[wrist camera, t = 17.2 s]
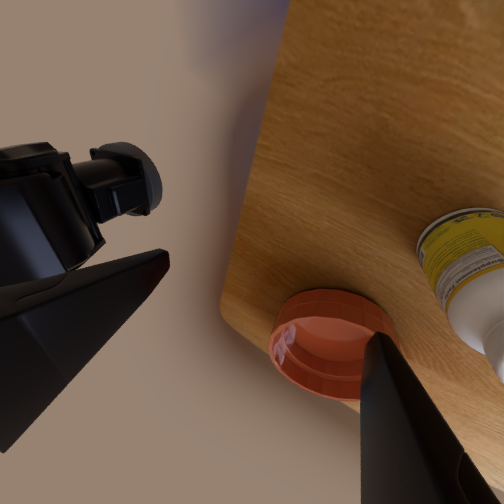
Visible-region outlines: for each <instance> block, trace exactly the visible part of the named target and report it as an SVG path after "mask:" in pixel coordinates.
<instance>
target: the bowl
mask: <svg viewBox="0 0 504 504" xmlns="http://www.w3.org/2000/svg"><path fill="white" fill-rule="evenodd" d="M376 331H380V332H382V333H385V334H388V335H389V336H390V337H391V338H392V340H393V341H394V343H395V345H396V346H397V348H398V349H399V351H400V352H401V349H400V345H399V341H398V337H397V333H396V330H395V327H394V325H393V322H392V320H391V319H390V318H389V317H388V316H387V314H386V313H385V312H384V311H383V310H382V309H381V308H380V307H379V306H377V305H376V304H374V303H372V302H371V301H369V300H367V299H365V298H364V297H362V296H359V295H356V294H352V293H349V292H346V291H342V290H334V289H315V290H309V291H304V292H300V293H298V294H296V295H295V296H293V297H291V298H289V299H287V300H286V301H285V303H284V304H283V305H282V306H281V307H280V308H279V310H278V313H277V316H276V320H275V323H274V326H273V329H272V332H271V335H270V339H269V343H268V350H269V355H270V358H271V360H272V362H273V363H274V365H275V366H276V368H277V369H278V370H279V371H280V372H281V373H282V374H283V375H284V376H285V377H286V378H287V379H288V380H290V381H291V382H293V383H294V384H296V385H298V386H299V387H301V388H303V389H304V390H307V391H309V392H312V393H314V394H317V395H319V396H322V397H326V398H330V399H334V400H339V401H351V402H360V387H361V377H362V368H363V360H364V351H365V346H366V344H367V342H368V341H369V340H370V338H371V337H372V336H373V334H374V333H375V332H376ZM401 354H402V353H401Z"/></svg>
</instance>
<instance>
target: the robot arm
mask: <svg viewBox="0 0 504 504" xmlns="http://www.w3.org/2000/svg"><path fill="white" fill-rule="evenodd" d="M90 155H91V159H92V160H90V161H85V162H80V163H75V164H72V163H71V161H70V156H69V153H68V152H58V151H57V150H56V149H54V148H53V147H52V146H51V145H50V144H49V143H48V142H39V143H29V144H21V145H15V146H9V147H4V148H0V452H2V453H5V452H6V451H7V450H8V449H9V448H10V447H11V446H12V445H13V444H14V443H15V442H16V440H17V439H18V438H19V437H20V436H21V435H22V434H23V433H24V432H25V431H26V430H27V429H28V427H29V426H30V425H31V424H32V423H33V422H34V421H35V420H36V419H37V418H38V417H39V416H40V414H41V413H42V412H43V411H44V410H45V409H46V408H47V406H49V405H50V404H51V402H52V401H53V400H54V399H55V398H56V397H57V396H58V394H60V393H61V392H62V390H63V389H64V388H65V387H66V386H67V385H68V384H69V383H70V381H72V379H73V378H74V377H75V376H76V375H77V374H78V373H79V372H80V371H81V370H82V368H83V367H84V366H85V365H86V364H87V363H88V362H89V361H90V360H91V359H92V358H93V356H94V355H95V354H96V353H97V352H98V351H99V350H100V349H101V348H102V347H103V346H104V345H105V343H106V342H107V341H108V340H109V339H110V338H111V337H112V336H113V335H114V334H115V333H116V331H117V330H118V329H119V328H120V327H121V326H122V325H123V324H124V323H125V322H126V321H127V319H128V318H129V317H130V316H131V315H132V314H133V313H134V312H135V311H136V310H137V309H138V307H139V306H140V305H141V304H142V303H143V302H144V301H145V300H146V299H147V298H148V296H149V295H150V294H151V293H152V292H153V290H154V289H155V287H156V286H157V285H158V284H159V282H160V281H161V279H162V278H163V277H164V275H165V274H166V273H167V271H168V270H169V268H170V260H169V253H168V251H166V250H163V249H155V250H152V251H148V252H144V253H140V254H136V255H132V256H128V257H124V258H121V259H117V260H113V261H109V262H105V263H101V264H97V265H93V266H89V267H85V268H82V269H78V268H79V267H81V266H82V265H83V264H84V263H85V262H86V261H87V260H88V259H89V258H90V257H91V256H93V255H94V254H95V253H96V252H97V251H98V250H99V249H100V248H101V247H102V246H103V245H104V244H105V243H106V242H105V239H104V238H103V237H102V234H101V232H100V230H99V227H98V224H100V223H101V224H103V223H105V222H107V221H109V220H111V219H113V218H115V217H117V216H121V215H123V214H125V213H127V212H133V213H136V214H140V215H144V216H147V215H149V214H150V207H149V200H148V194H147V188H146V181H145V175H144V169H143V163H142V160H141V159H140V158H139V157H135V156H130V155H126V154H121V153H116V152H112V151H107V150H102V149H97V148H91V149H90ZM137 162H138V164H137ZM145 211H146V212H145ZM76 269H78V270H76ZM360 422H361V423H360V427H361V428H360V430H361V432H360V433H361V504H501V503H500V501H499V500H498V499H497V497H496V496H495V494H494V493H493V491H492V490H491V488H490V487H489V485H488V484H487V482H486V481H485V479H484V478H483V476H482V475H481V474H480V472H479V471H478V469H477V468H476V466H475V465H474V463H473V461H472V460H471V458H470V457H469V455H468V454H467V453H466V452H464V448H463V446H462V445H461V443H460V442H459V440H458V439H457V437H456V436H455V434H454V433H453V431H452V430H451V428H450V427H449V425H448V424H447V422H446V421H445V419H444V418H443V416H442V415H441V413H440V411H439V410H438V408H437V407H436V405H435V404H434V402H433V401H432V399H431V398H430V396H429V395H428V393H427V392H426V390H425V389H424V387H423V386H422V384H421V383H420V381H419V380H418V378H417V376H416V375H415V373H414V372H413V370H412V369H411V367H410V366H409V364H408V363H407V361H406V360H405V358H404V357H403V355H402V354H401V352H400V351H399V349H398V348H397V346H396V345H395V343H394V341H393V340H392V338H391V337H390V336H389V335H388V334H385V333H382V332H380V331H376V332H375V333H374V334H373V336H372V337H371V338H370V340H369V341H368V342H367V344H366V346H365V351H364V360H363V368H362V377H361V387H360Z"/></svg>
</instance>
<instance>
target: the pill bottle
mask: <svg viewBox="0 0 504 504" xmlns="http://www.w3.org/2000/svg"><path fill="white" fill-rule="evenodd" d="M416 252H417V257H418V260H419V262H420V265H421V267H422V269H423V271H424V273H425V275H426V277H427V279H428V281H429V283H430V285H431V287H432V289H433V291H434V293H435V295H436V297H437V300H438V302H439V303H440V306H441V307H442V309H443V312H444V314H445V316H446V318H447V320H448V322H449V323H450V325H451V327H452V328H453V330H454V332H455V333H456V334H457V335H458V337H459V338H460V339H461V340H462V341H463V342H465V343H466V344H467V345H469V346H470V347H471V348H473V349H475V350H477V351H478V352H480V353H482V354H485V355H486V356H487V358H488V360H489V362H490V364H491V366H492V367H493V369H494V370H495V372H496V374H497V375H498V377H499V379H500V380H501V381H502V382H503V383H504V212H501V211H498V210H495V209H490V208H467V209H462V210H458V211H454V212H452V213H449V214H447V215H445V216H443V217H441V218H439V219H437V220H436V221H434V222H433V223H431V224H430V225H429V226H428V227H427V228H426V229H425V230H424V231H423V233H422V234H421V236H420V238H419V240H418V242H417V248H416Z"/></svg>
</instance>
